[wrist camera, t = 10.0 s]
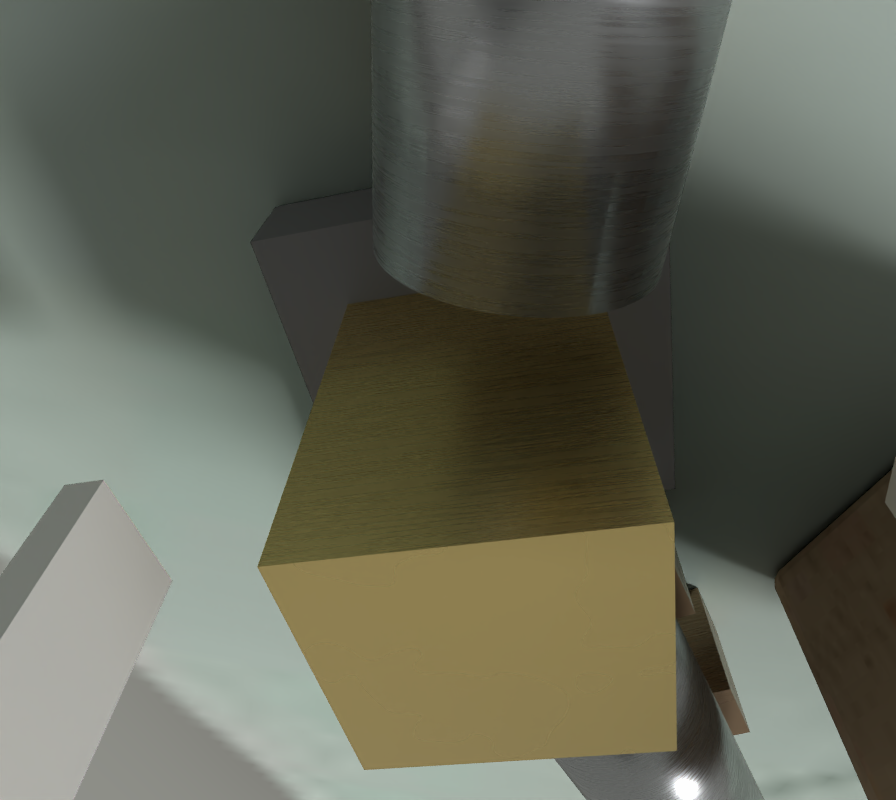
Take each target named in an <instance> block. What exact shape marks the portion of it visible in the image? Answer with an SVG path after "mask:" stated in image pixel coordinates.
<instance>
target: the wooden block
mask: <svg viewBox="0 0 896 800" xmlns="http://www.w3.org/2000/svg"><path fill="white" fill-rule="evenodd" d="M891 474H892V470H891V471H890V472H888V473H887V474H886V475H885V476H884V477H883V478H882V479H881V480H880V481H878V482H877V483H876V484H875V485H874V486H873V487H872V488H871V489H870V490H868V491H867V492H866V493H865V494H864V495H863V496H862V497H861V498H859V499H858V500H857V501H856V502H855V503H854V504H853V505H852V506H851V507H849V508H848V509H847V510H846V511H845V512H844V513H843V514H842V515H841V516H839V517H838V518H837V519H836V520H835V521H834V522H833V523H832V524H831V525H829V526H828V527H827V528H826V529H825V530H824V531H823V532H822V533H821V534H819V535H818V536H817V537H816V538H815V539H814V540H813V541H812V542H811V543H809V544H808V545H807V546H806V547H805V548H804V549H803V550H802V551H801V552H799V553H798V554H797V555H796V556H795V557H794V558H793V559H792V560H791V561H789V562H788V563H787V564H786V565H785V566H784V567H783V568H782V569H781V570H779V571H778V573H777V575H776V577H775V589H776V591H777V594H778V596H779V598H780V600H781V603H782V605H783V607H784V609H785V612H786V614H787V616H788V619H789V621H790V623H791V625H792V628H793V630H794V632H795V635H796V637H797V639H798V641H799V644H800V646H801V648H802V650H803V653H804V655H805V657H806V660H807V662H808V664H809V666H810V669H811V671H812V673H813V676H814V678H815V680H816V682H817V685H818V687H819V689H820V691H821V694H822V696H823V698H824V701H825V703H826V705H827V707H828V710H829V712H830V714H831V717H832V719H833V721H834V723H835V726H836V728H837V730H838V732H839V735H840V737H841V739H842V742H843V744H844V746H845V748H846V751H847V753H848V755H849V757H850V760H851V762H852V764H853V767H854V769H855V771H856V773H857V776H858V778H859V780H860V783H861V785H862V787H863V789H864V792H865V794H866V796H867V798H868V800H896V518H895V517H894V515H893V514H892V512H891V511H890V509H889V508H888V506H887V505H886V503H885V499H886V495H887V491H888V486H889V482H890V478H891Z"/></svg>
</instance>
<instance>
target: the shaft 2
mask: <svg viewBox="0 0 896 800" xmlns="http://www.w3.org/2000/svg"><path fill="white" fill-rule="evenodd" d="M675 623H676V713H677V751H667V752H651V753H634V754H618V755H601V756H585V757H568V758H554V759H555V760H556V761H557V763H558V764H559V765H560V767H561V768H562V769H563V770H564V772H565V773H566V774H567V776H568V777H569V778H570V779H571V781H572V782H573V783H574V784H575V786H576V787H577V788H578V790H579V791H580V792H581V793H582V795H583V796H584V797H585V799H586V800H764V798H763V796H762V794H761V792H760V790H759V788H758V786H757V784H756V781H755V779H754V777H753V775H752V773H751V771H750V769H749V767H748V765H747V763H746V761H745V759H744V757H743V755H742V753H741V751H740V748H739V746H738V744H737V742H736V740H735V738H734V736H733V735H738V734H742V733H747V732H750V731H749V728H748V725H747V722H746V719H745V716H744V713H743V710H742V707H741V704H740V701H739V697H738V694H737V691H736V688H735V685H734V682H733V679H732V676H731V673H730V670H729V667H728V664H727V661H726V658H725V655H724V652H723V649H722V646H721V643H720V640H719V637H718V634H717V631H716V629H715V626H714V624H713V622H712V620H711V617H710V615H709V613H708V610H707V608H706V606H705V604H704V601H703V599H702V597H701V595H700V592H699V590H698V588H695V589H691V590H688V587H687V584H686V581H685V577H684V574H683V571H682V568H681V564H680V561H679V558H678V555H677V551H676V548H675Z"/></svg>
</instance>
